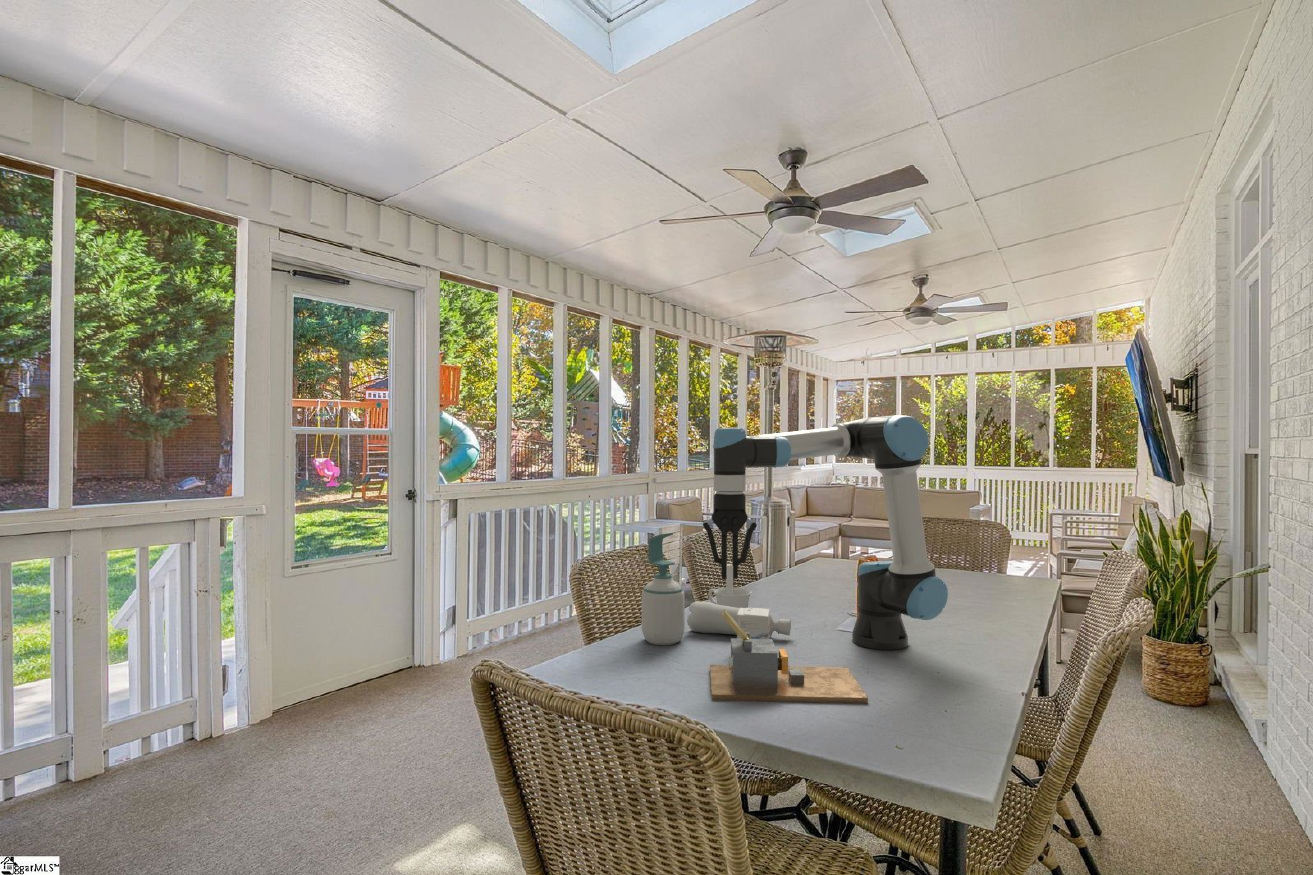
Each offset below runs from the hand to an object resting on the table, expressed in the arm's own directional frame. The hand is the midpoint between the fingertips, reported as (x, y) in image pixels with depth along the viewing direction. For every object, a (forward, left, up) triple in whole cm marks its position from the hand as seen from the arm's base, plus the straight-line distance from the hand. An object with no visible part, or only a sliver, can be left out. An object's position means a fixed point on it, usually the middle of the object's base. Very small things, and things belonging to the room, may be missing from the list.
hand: (729, 592), depth 158 cm
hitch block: (-13, 0, -22) cm, 25 cm away
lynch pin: (-7, 0, -18) cm, 19 cm away
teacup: (-3, -56, -22) cm, 60 cm away
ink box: (-8, -23, -22) cm, 33 cm away
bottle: (-5, -41, -22) cm, 47 cm away
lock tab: (-1, 0, -9) cm, 9 cm away
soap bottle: (+17, -34, -22) cm, 44 cm away
